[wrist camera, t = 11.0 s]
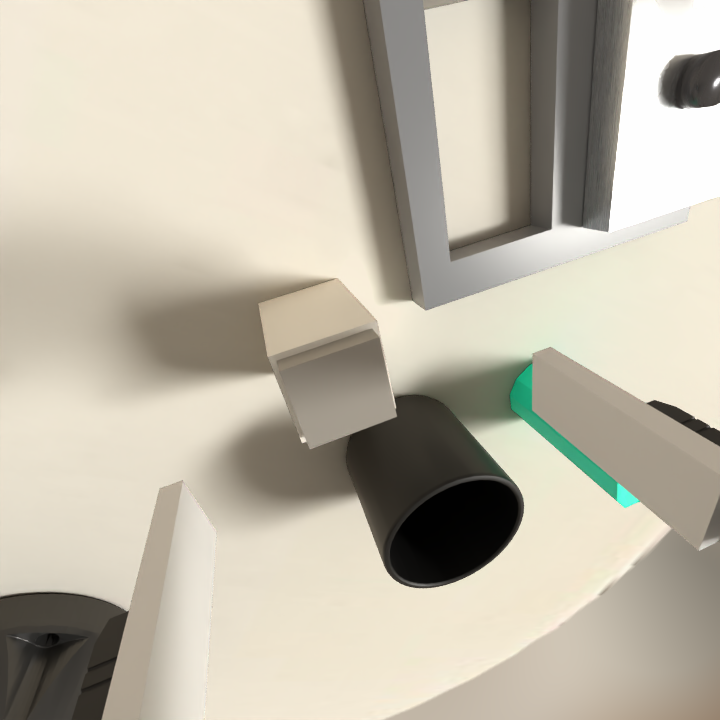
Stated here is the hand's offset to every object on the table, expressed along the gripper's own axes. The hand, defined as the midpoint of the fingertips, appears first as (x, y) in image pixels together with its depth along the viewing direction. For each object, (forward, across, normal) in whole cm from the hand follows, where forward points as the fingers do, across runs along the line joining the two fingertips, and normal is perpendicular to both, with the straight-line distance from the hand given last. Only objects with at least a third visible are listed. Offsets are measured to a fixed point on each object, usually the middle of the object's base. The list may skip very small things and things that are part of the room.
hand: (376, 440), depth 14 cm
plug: (+12, -1, 0) cm, 12 cm away
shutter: (+10, +22, +8) cm, 26 cm away
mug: (+12, +4, -13) cm, 19 cm away
